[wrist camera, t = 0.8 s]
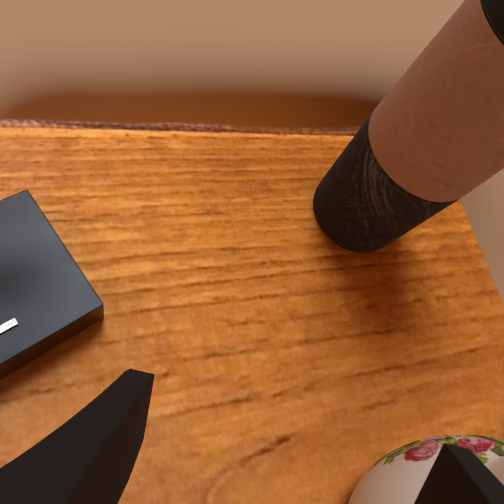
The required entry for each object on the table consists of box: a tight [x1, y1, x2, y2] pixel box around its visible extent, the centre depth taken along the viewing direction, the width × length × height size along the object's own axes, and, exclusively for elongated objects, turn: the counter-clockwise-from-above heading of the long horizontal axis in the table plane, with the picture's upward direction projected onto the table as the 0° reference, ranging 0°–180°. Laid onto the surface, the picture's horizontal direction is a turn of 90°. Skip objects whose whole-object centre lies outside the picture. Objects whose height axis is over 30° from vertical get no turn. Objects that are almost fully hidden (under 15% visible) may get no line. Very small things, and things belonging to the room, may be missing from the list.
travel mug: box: [314, 0, 504, 253], centre depth 26 cm, size 8×8×20 cm
